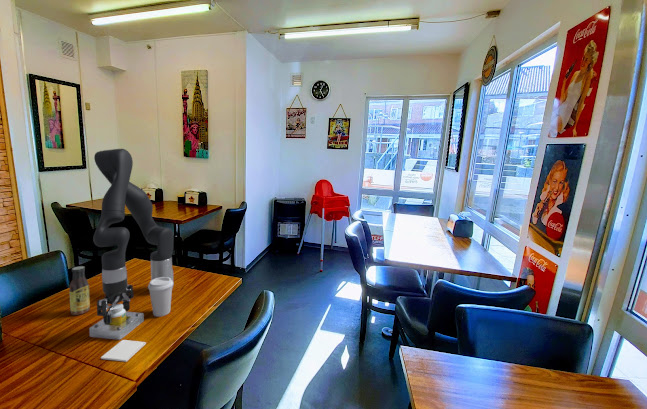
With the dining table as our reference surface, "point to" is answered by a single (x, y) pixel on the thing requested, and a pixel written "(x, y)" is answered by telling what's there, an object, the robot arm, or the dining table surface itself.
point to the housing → (116, 327)
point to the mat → (123, 350)
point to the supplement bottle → (118, 315)
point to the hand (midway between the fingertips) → (117, 316)
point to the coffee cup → (161, 295)
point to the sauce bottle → (79, 292)
